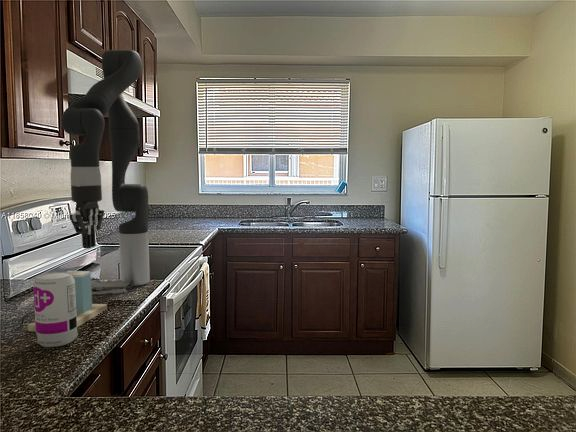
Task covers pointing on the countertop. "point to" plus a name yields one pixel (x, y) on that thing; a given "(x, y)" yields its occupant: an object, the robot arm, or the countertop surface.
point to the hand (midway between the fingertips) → (89, 247)
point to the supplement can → (55, 309)
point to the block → (82, 290)
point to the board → (81, 315)
